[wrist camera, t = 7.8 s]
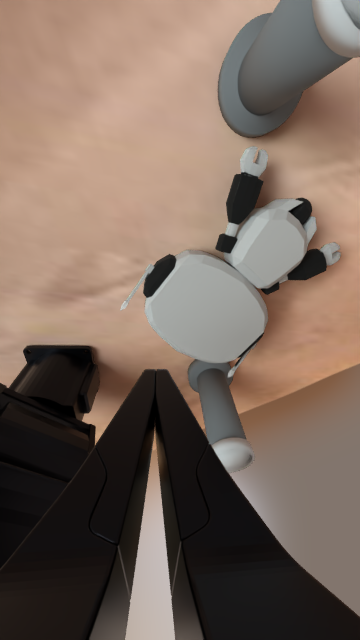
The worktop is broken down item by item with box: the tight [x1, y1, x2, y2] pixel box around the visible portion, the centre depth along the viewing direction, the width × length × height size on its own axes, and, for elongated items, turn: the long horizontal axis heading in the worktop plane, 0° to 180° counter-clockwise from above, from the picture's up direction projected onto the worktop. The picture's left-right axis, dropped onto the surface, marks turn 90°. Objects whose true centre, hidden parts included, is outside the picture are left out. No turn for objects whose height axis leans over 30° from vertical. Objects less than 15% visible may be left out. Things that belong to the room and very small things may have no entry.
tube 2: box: [218, 0, 360, 138], centre depth 10 cm, size 5×5×10 cm
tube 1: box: [188, 359, 255, 473], centre depth 22 cm, size 5×5×10 cm
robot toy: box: [121, 146, 341, 377], centre depth 19 cm, size 12×4×15 cm
